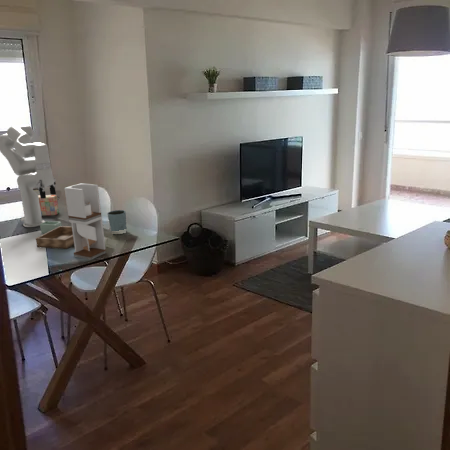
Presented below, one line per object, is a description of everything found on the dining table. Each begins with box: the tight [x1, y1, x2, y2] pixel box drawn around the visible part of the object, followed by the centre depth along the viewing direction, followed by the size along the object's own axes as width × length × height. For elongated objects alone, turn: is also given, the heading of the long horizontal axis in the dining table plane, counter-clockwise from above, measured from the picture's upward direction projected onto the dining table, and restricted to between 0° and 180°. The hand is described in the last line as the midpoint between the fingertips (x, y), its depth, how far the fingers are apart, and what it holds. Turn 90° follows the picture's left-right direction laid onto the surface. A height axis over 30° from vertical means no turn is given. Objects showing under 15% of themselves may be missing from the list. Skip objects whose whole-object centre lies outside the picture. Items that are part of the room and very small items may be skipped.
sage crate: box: [39, 220, 63, 235], centre depth 295 cm, size 10×6×6 cm, turn 74°
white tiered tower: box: [63, 182, 107, 261], centre depth 251 cm, size 11×11×35 cm
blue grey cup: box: [107, 209, 128, 232], centre depth 288 cm, size 10×10×12 cm
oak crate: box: [35, 225, 74, 250], centre depth 278 cm, size 18×22×5 cm
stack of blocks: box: [21, 194, 60, 217], centre depth 336 cm, size 21×6×12 cm, turn 86°
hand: (48, 196), depth 290 cm, fingers open, 9 cm apart
